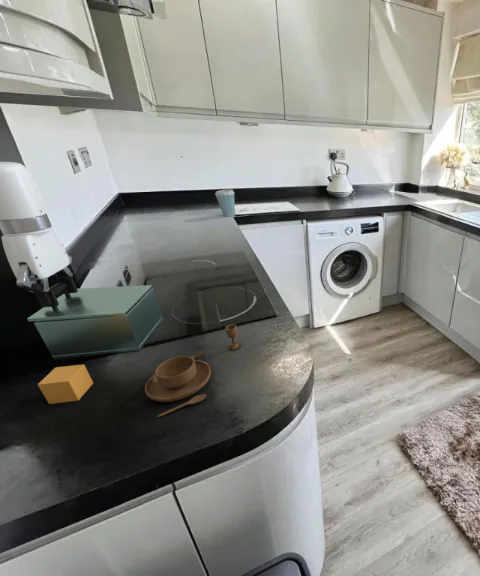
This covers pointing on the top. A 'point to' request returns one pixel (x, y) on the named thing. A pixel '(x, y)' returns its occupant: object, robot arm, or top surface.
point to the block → (66, 384)
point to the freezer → (102, 331)
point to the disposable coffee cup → (226, 201)
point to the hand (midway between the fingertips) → (60, 298)
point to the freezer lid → (92, 302)
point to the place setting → (183, 377)
